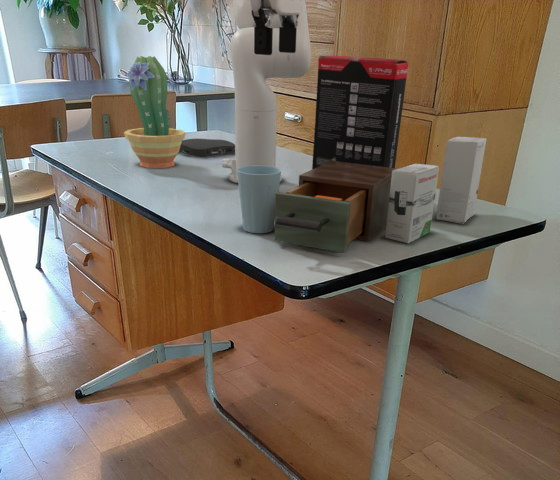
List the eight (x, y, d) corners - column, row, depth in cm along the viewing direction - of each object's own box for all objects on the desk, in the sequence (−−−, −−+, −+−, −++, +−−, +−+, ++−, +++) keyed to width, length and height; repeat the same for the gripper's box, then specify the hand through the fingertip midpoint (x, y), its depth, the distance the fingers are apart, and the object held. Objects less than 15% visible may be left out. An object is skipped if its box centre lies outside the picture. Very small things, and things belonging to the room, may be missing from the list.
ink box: (406, 228, 110) (416, 161, 104) (430, 233, 108) (441, 165, 102) (382, 238, 104) (391, 168, 98) (407, 244, 102) (417, 173, 96)
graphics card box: (393, 201, 127) (411, 58, 114) (381, 208, 122) (398, 59, 108) (322, 190, 134) (331, 54, 121) (308, 196, 129) (315, 55, 116)
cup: (282, 224, 110) (283, 166, 105) (277, 236, 104) (278, 175, 98) (241, 221, 111) (241, 164, 105) (234, 234, 104) (233, 173, 99)
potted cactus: (116, 162, 154) (104, 54, 142) (166, 156, 163) (159, 54, 151) (146, 173, 145) (137, 57, 132) (198, 166, 154) (194, 57, 141)
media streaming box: (212, 146, 180) (212, 135, 178) (240, 154, 170) (240, 143, 169) (170, 150, 172) (169, 139, 170) (197, 158, 162) (196, 147, 160)
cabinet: (367, 241, 103) (373, 184, 98) (296, 229, 108) (299, 175, 103) (393, 219, 115) (399, 168, 110) (328, 210, 120) (331, 160, 115)
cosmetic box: (464, 224, 113) (479, 142, 106) (433, 219, 116) (446, 139, 108) (474, 215, 120) (489, 137, 112) (444, 210, 122) (457, 133, 115)
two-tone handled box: (332, 262, 90) (336, 211, 86) (260, 249, 95) (260, 200, 91) (372, 230, 105) (376, 185, 102) (308, 219, 110) (310, 176, 106)
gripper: (276, -74, 88) (273, 56, 96) (319, -61, 101) (313, 53, 110) (232, -73, 90) (233, 54, 99) (280, -60, 104) (277, 50, 113)
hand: (275, 53), depth 104 cm, fingers open, 9 cm apart
